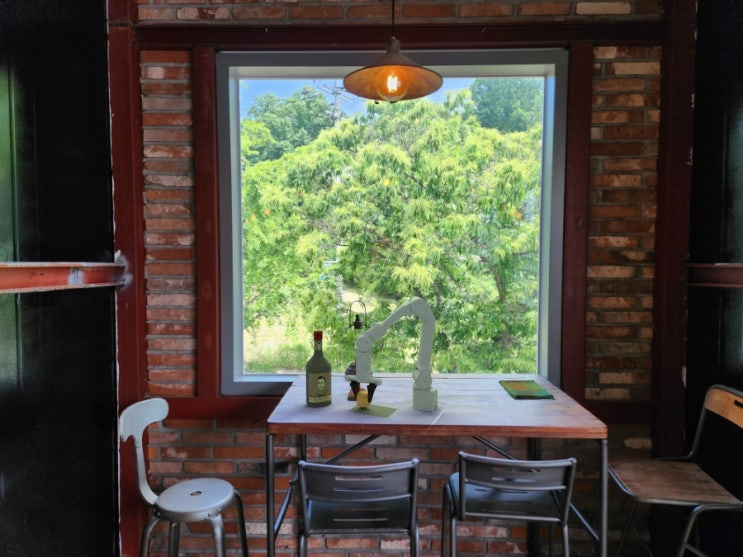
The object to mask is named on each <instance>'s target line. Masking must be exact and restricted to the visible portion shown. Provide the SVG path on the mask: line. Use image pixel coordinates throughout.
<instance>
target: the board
mask: <svg viewBox="0 0 743 557" xmlns="http://www.w3.org/2000/svg"><path fill="white" fill-rule="evenodd" d="M397 409H398V408H394V407H388V406H381V405H375V404H371V405H370V406H368V407H367V409H364V410H363V409H360V407H359V406H358V405H357V404H356V405H355V406H353V407H352V408H351V409H349V410H348V412H351V413H357V414H362V415H368V416H373V417H378V418H386V419H388V418H389V417H390V416H391V415H393V413H395V411H397Z"/></svg>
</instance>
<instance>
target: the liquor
mask: <svg viewBox="0 0 743 557" xmlns="http://www.w3.org/2000/svg"><path fill="white" fill-rule="evenodd" d="M323 334H324V333H323V330H314V331H313V341H314V342H313V354H312V356H311V357H310V359H309V360H308V361H307V362H306V364H305V402H306V405H307V406H308V407H309V408H315V409H316V408H323V407H329V406H330V405H332V404H333V403H332V365H331V362H329V361H328V359H327V358H326V357H325V356H324V350H323V340H324V335H323Z"/></svg>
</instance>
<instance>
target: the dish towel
mask: <svg viewBox="0 0 743 557" xmlns="http://www.w3.org/2000/svg"><path fill="white" fill-rule="evenodd" d="M499 383H500V384H501V385H502V386H503V387H504V388H503V387H502V386H501V385H500V384H499ZM498 384H499V385H500V386H501V387H502V388H503V389H504V390H505V391H506V392H507V394H509V395H510V396H511V397H512V398H513V399H514V398H515V400H540V399H553V400H555V395H553V393H550V392H549V391H548V390H547V389H545V388H544V387H543V386H542V385H541V384H538V383H537V381H535V379H520V380H518V379H517V380H514V379H513V380H512V379H509V380H508V379H506V380H501V379H500V380H498Z"/></svg>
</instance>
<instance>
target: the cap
mask: <svg viewBox="0 0 743 557" xmlns="http://www.w3.org/2000/svg"><path fill="white" fill-rule="evenodd" d="M371 403H372V402H371ZM371 403H368V392H367V391H360V392H358V393H357V401H356V405H358V406H359V407H368V406H370V405H372V404H371Z"/></svg>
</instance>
